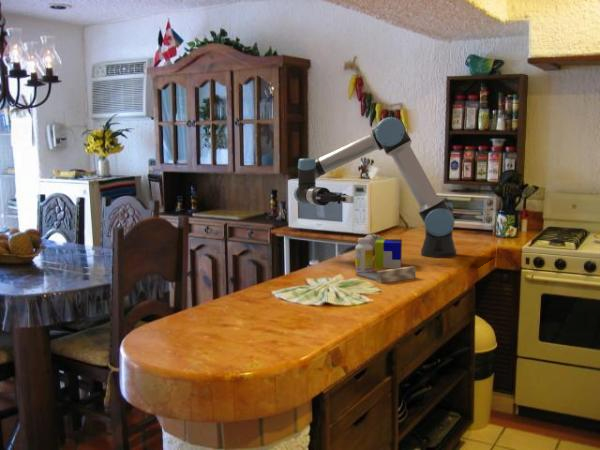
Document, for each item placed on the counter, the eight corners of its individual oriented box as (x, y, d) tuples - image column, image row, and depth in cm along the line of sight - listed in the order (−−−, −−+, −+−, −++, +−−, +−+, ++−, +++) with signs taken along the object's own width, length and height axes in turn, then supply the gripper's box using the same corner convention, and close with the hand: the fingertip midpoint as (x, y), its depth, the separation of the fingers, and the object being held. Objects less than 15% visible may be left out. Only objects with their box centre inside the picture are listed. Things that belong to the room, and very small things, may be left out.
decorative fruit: (386, 254, 274) (386, 232, 273) (370, 256, 271) (370, 233, 270) (376, 251, 283) (376, 229, 282) (360, 252, 280) (360, 231, 279)
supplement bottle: (374, 270, 238) (374, 237, 237) (370, 273, 232) (370, 239, 231) (357, 269, 241) (357, 236, 239) (353, 272, 234) (353, 239, 233)
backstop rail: (411, 277, 225) (411, 266, 225) (415, 278, 223) (415, 267, 223) (376, 282, 217) (377, 271, 216) (380, 283, 215) (380, 272, 215)
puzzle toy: (400, 268, 243) (400, 243, 242) (374, 267, 245) (375, 242, 244) (401, 263, 253) (401, 239, 252) (376, 263, 255) (377, 239, 254)
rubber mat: (385, 271, 237) (385, 269, 236) (409, 277, 225) (409, 275, 225) (355, 275, 229) (355, 273, 229) (379, 281, 217) (379, 280, 217)
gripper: (332, 204, 263) (365, 208, 243) (306, 205, 257) (338, 210, 237) (332, 186, 262) (365, 189, 242) (305, 187, 256) (338, 190, 236)
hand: (352, 199), depth 239 cm, fingers closed
